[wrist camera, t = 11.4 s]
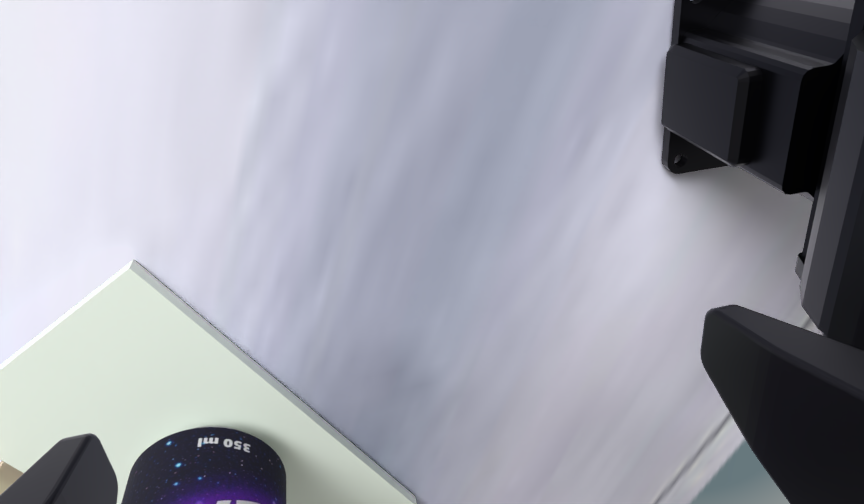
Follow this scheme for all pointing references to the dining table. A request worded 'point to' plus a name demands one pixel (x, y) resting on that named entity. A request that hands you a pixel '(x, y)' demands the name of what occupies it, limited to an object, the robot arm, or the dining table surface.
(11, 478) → the frame
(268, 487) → the beverage can
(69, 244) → the dining table surface
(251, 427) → the sage pad
